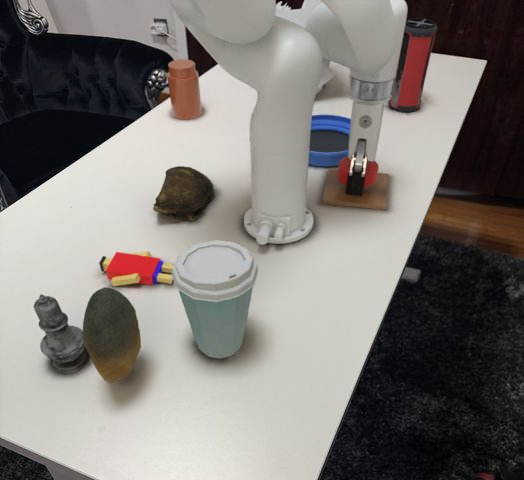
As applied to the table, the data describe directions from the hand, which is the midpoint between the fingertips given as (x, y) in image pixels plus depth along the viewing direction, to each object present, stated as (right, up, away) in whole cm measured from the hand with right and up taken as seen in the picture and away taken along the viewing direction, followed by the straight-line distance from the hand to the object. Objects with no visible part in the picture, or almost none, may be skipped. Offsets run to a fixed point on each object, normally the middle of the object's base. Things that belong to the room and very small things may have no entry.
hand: (355, 182), depth 95 cm
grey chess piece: (-45, -34, -27) cm, 62 cm away
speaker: (+17, +28, +27) cm, 42 cm away
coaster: (0, -1, +1) cm, 2 cm away
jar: (-36, +26, +25) cm, 51 cm away
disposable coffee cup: (-24, -31, -25) cm, 47 cm away
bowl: (-4, +12, +13) cm, 18 cm away
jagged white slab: (-9, +35, +33) cm, 49 cm away
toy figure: (-38, -20, -15) cm, 46 cm away
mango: (-36, -36, -29) cm, 59 cm away
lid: (0, +2, -2) cm, 3 cm away
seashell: (-32, -5, -1) cm, 33 cm away
